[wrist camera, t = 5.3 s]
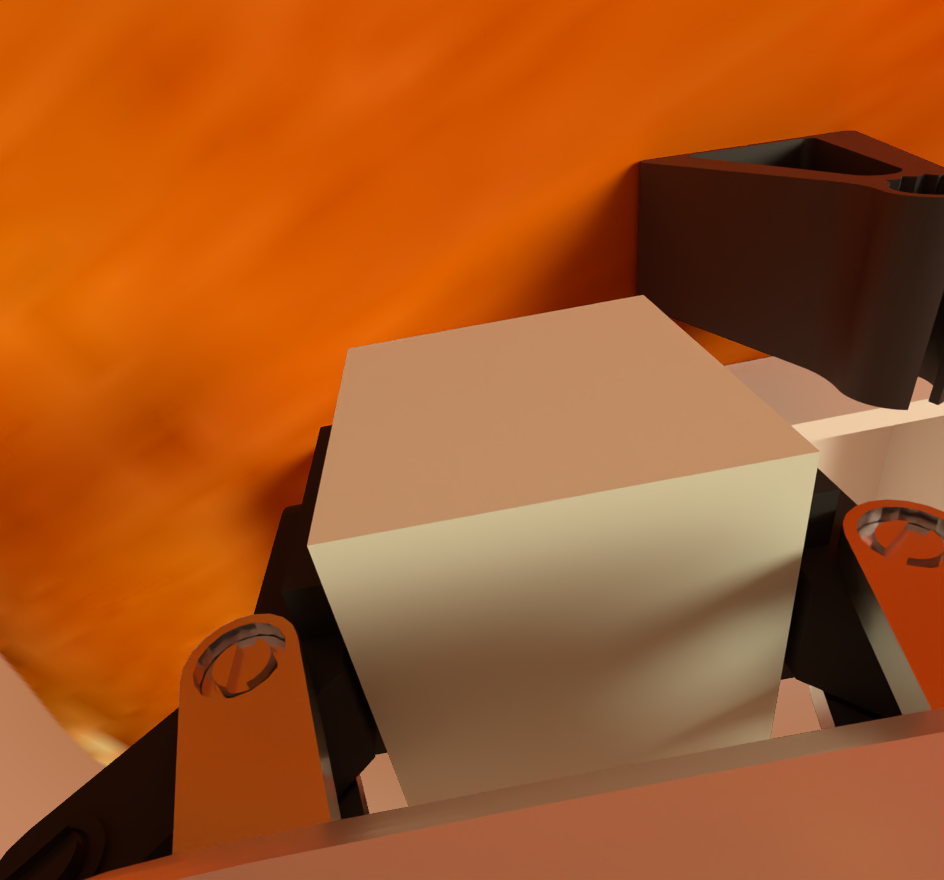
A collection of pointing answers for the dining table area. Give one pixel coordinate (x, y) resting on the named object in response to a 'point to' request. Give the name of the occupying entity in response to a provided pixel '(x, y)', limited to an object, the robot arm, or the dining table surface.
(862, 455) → the tote
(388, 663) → the beige cube
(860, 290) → the phone stand
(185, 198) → the dining table surface
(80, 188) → the dining table surface
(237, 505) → the dining table surface
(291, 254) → the dining table surface
